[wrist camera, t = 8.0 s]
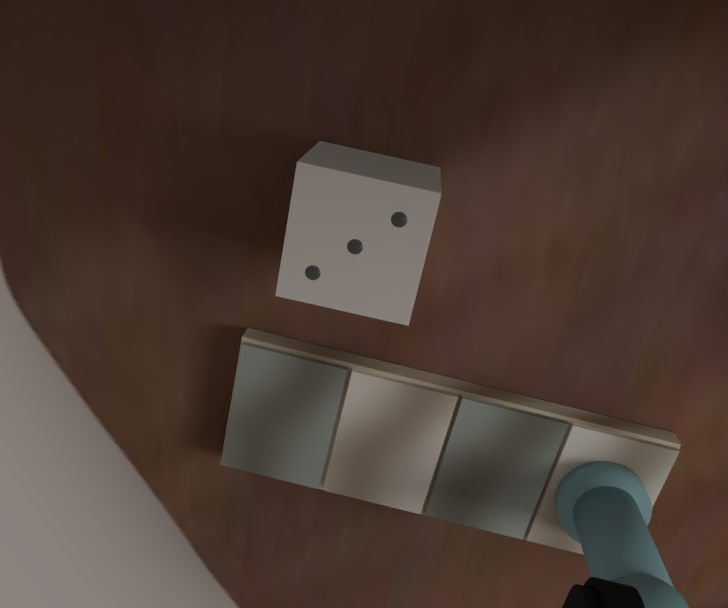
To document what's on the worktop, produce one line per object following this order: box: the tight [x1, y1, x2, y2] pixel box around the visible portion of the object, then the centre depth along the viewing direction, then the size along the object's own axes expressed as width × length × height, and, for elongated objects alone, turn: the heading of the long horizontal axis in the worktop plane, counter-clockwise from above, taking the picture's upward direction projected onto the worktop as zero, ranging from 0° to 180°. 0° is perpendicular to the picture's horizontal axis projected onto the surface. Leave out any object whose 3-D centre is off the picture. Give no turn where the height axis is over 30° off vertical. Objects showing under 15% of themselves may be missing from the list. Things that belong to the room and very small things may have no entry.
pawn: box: [555, 461, 689, 608], centre depth 27 cm, size 4×4×9 cm
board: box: [220, 328, 681, 555], centre depth 31 cm, size 20×7×1 cm, turn 77°
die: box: [275, 141, 442, 326], centre depth 26 cm, size 5×5×5 cm
